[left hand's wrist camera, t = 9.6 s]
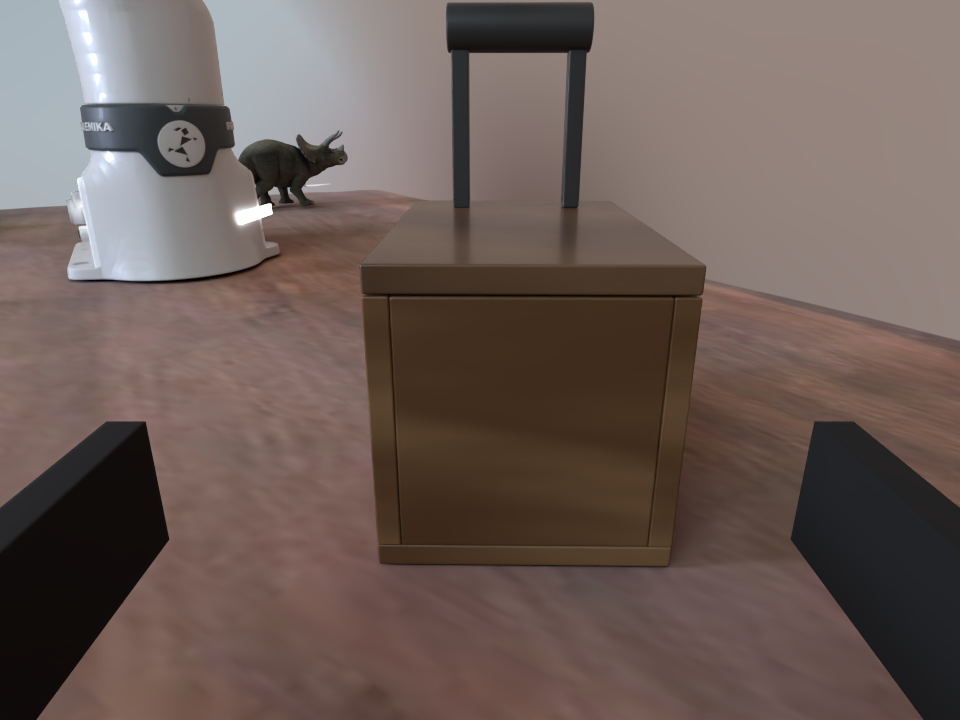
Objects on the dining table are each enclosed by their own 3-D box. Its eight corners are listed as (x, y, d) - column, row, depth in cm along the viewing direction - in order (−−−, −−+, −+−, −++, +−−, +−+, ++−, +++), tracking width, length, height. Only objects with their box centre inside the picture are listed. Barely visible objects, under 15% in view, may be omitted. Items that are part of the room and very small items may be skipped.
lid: (416, 218, 31) (409, 11, 28) (610, 218, 30) (625, 11, 27) (360, 294, 17) (335, -88, 14) (703, 296, 17) (751, -89, 14)
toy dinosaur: (215, 216, 91) (203, 132, 87) (195, 210, 97) (183, 131, 93) (353, 204, 104) (348, 130, 100) (328, 199, 110) (323, 129, 106)
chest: (421, 392, 33) (415, 221, 30) (599, 393, 33) (612, 221, 30) (378, 564, 20) (360, 296, 17) (669, 567, 20) (703, 297, 17)
